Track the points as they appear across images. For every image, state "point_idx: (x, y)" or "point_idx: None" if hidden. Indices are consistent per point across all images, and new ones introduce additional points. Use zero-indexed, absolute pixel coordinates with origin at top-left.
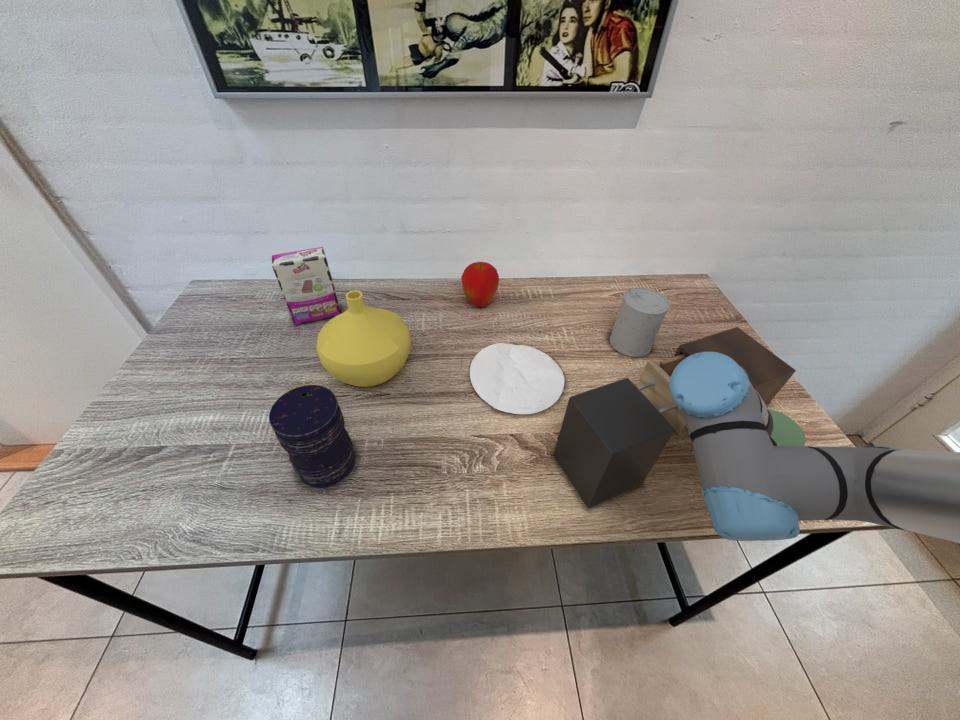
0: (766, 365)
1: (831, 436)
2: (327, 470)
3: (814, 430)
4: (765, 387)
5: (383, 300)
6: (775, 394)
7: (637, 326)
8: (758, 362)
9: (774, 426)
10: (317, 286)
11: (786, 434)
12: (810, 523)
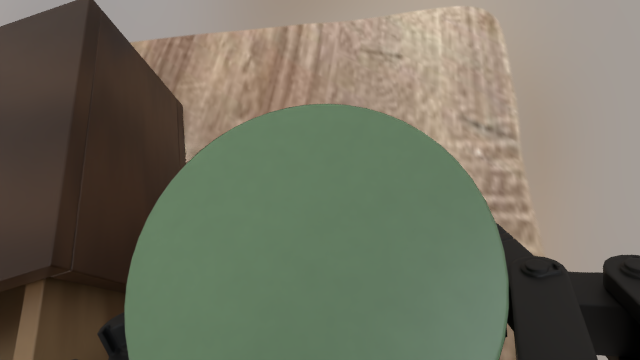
0: (26, 62)
1: (293, 31)
2: None
3: (272, 53)
4: (108, 106)
5: None
6: (160, 83)
7: None
8: (2, 80)
9: (280, 257)
10: None
11: (355, 214)
12: (529, 196)
